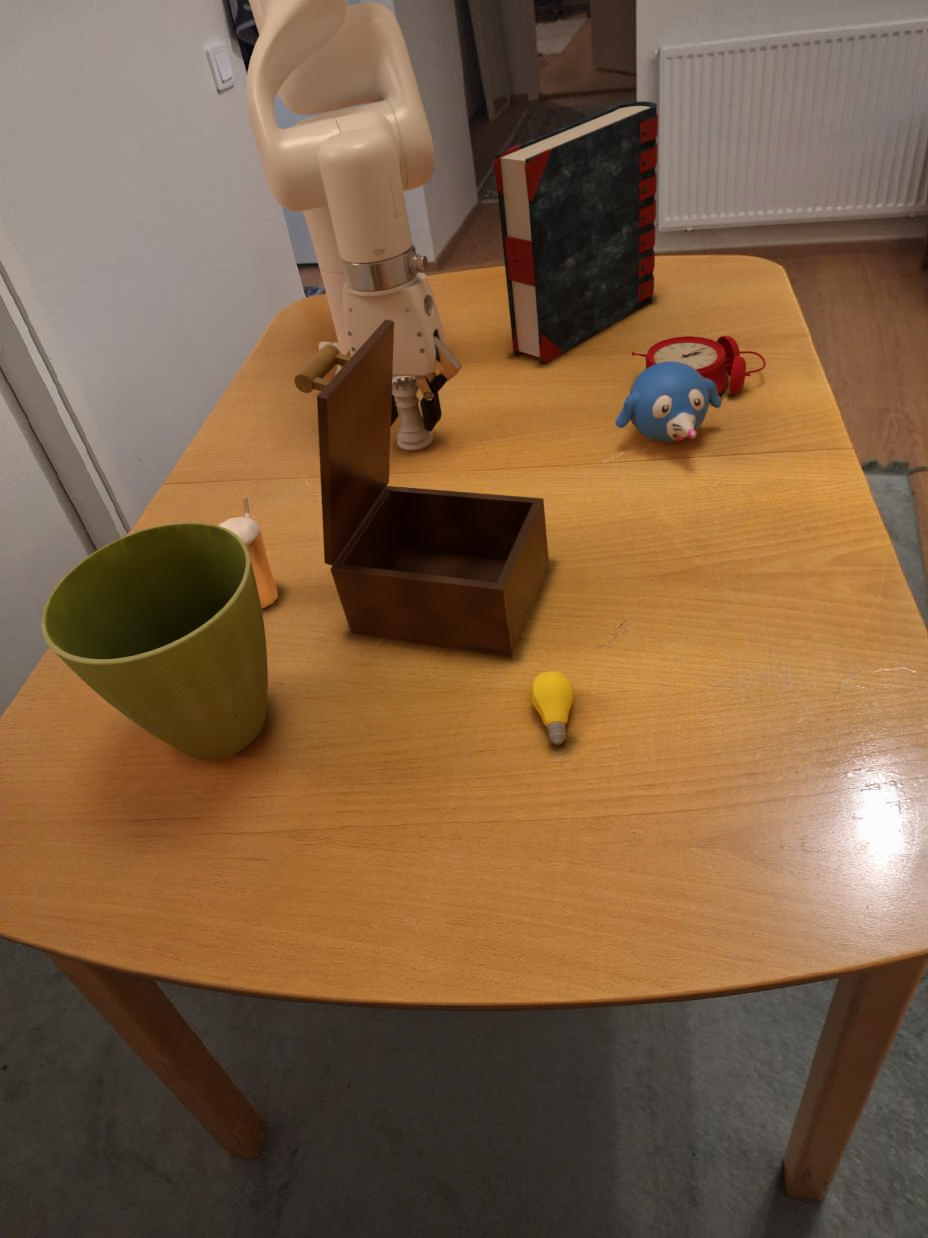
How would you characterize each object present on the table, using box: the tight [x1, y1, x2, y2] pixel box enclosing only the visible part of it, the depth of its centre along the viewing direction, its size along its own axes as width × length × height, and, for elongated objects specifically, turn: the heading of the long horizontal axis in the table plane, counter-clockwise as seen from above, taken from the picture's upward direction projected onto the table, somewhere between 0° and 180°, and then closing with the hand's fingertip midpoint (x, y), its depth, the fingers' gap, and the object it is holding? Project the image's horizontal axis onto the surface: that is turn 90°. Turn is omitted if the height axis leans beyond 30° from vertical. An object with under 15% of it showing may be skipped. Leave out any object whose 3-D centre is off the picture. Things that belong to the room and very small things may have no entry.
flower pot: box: [40, 521, 269, 761], centre depth 63 cm, size 15×15×16 cm
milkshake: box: [218, 496, 279, 609], centre depth 77 cm, size 5×5×10 cm
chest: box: [329, 485, 550, 658], centre depth 73 cm, size 16×13×8 cm
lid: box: [293, 319, 394, 567], centre depth 67 cm, size 16×13×5 cm
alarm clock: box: [631, 335, 767, 395], centre depth 97 cm, size 10×6×15 cm
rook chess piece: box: [392, 377, 434, 452], centre depth 95 cm, size 4×4×8 cm
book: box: [493, 100, 659, 365], centre depth 107 cm, size 25×7×25 cm, turn 132°
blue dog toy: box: [614, 361, 722, 443], centre depth 87 cm, size 12×12×8 cm
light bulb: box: [529, 670, 576, 746], centre depth 63 cm, size 3×6×4 cm, turn 1°
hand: (411, 422), depth 96 cm, fingers open, 4 cm apart
